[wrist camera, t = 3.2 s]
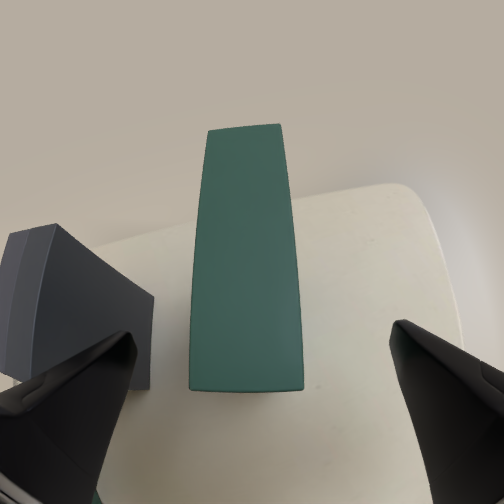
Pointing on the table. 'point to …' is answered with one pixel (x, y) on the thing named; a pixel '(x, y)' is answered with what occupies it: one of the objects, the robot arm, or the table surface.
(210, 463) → the table surface
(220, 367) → the green book
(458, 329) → the table surface
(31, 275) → the charcoal book
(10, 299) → the charcoal book
